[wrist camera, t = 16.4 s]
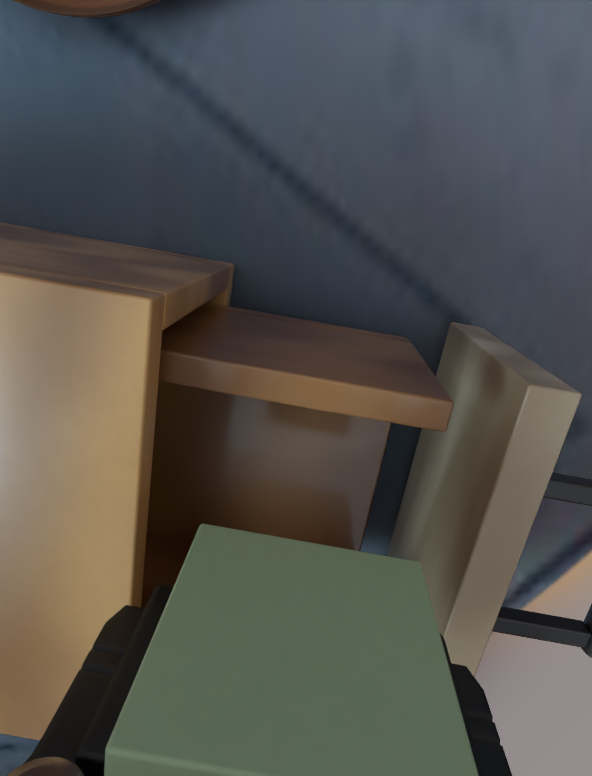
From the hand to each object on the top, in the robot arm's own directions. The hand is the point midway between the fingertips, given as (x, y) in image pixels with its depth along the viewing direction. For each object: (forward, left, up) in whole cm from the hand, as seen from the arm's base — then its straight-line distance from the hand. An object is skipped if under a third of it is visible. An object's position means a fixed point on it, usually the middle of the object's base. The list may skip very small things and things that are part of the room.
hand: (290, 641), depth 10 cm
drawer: (0, -1, -10) cm, 10 cm away
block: (0, 0, 0) cm, 0 cm away
